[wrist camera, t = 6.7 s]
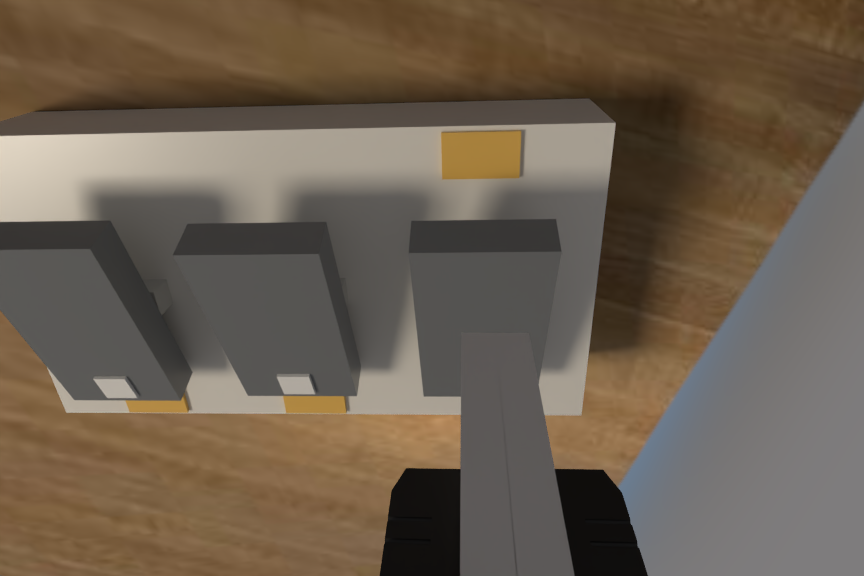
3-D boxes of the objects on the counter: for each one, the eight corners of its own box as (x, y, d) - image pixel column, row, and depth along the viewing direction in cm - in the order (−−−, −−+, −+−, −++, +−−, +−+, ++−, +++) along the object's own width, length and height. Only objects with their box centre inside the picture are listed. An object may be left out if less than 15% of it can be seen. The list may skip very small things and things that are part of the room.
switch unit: (32, 111, 27) (-76, 144, 22) (589, 98, 26) (623, 130, 20) (117, 356, 34) (51, 428, 28) (564, 356, 32) (585, 432, 27)
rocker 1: (-22, 222, 21) (-52, 253, 20) (110, 220, 21) (87, 252, 20) (90, 372, 27) (72, 402, 26) (192, 372, 27) (179, 403, 26)
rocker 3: (411, 220, 20) (408, 256, 19) (556, 218, 20) (561, 254, 19) (425, 366, 27) (423, 399, 26) (533, 366, 26) (536, 400, 25)
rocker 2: (187, 223, 20) (171, 258, 19) (326, 222, 20) (317, 257, 19) (256, 366, 27) (247, 398, 26) (361, 366, 27) (356, 399, 26)
